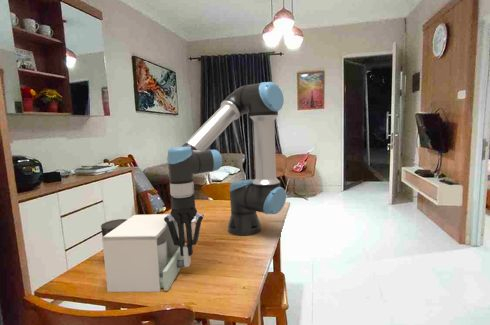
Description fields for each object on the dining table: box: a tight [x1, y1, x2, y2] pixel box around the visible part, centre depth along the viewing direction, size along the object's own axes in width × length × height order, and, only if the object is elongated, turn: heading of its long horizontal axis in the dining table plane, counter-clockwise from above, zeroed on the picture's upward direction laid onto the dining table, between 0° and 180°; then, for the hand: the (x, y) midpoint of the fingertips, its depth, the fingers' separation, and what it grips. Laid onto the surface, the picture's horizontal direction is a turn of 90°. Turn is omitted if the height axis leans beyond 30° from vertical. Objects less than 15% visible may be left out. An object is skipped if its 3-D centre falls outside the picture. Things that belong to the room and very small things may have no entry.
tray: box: [159, 241, 187, 292], centre depth 102 cm, size 19×23×6 cm
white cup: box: [157, 237, 167, 274], centre depth 101 cm, size 8×8×10 cm
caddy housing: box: [101, 213, 179, 293], centre depth 101 cm, size 16×23×17 cm
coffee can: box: [100, 218, 129, 238], centre depth 113 cm, size 10×10×14 cm
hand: (187, 264), depth 101 cm, fingers closed
